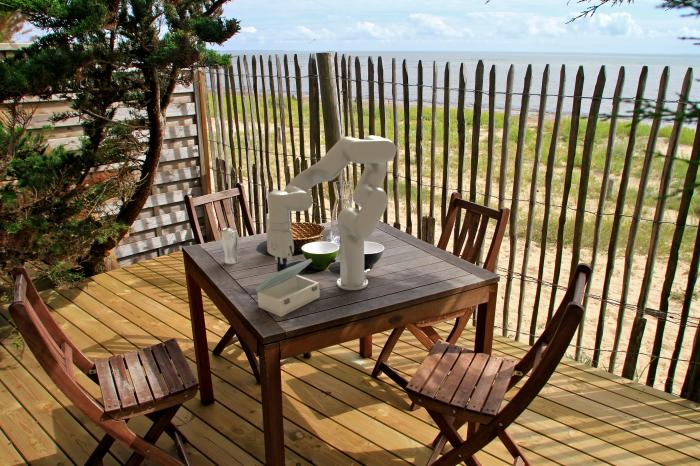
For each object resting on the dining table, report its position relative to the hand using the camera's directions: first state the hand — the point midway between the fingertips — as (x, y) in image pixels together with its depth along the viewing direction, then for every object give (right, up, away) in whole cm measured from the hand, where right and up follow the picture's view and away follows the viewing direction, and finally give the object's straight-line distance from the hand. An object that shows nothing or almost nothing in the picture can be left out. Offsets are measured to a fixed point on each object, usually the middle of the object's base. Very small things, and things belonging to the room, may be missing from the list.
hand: (282, 272), depth 194 cm
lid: (+1, -1, 0) cm, 2 cm away
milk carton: (-9, +5, +51) cm, 52 cm away
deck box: (+2, -11, +2) cm, 12 cm away
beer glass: (-28, +1, +40) cm, 49 cm away
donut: (+16, +7, +56) cm, 59 cm away
